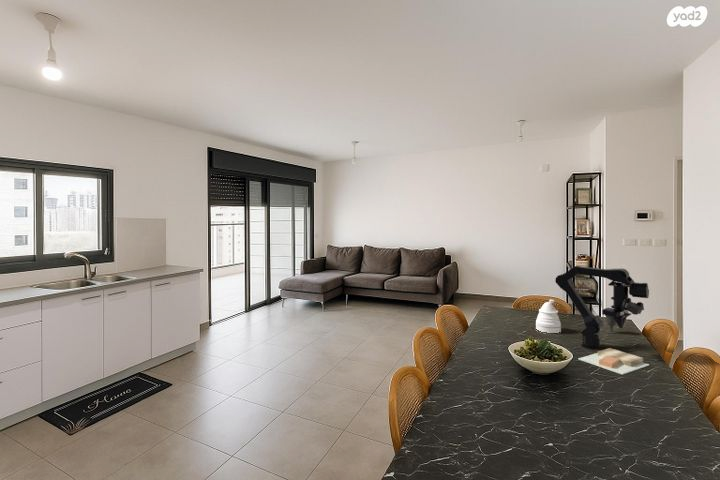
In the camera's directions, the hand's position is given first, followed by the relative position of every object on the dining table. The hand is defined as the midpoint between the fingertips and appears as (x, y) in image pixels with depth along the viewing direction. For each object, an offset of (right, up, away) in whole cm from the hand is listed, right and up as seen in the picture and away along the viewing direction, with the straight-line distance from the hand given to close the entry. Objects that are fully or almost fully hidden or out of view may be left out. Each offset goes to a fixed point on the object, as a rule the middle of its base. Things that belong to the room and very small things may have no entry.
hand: (620, 327), depth 171 cm
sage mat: (-11, -13, -10) cm, 19 cm away
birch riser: (-6, -13, -8) cm, 16 cm away
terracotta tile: (-14, -13, -12) cm, 23 cm away
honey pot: (-15, -11, +38) cm, 42 cm away
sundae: (+16, -10, +29) cm, 35 cm away
